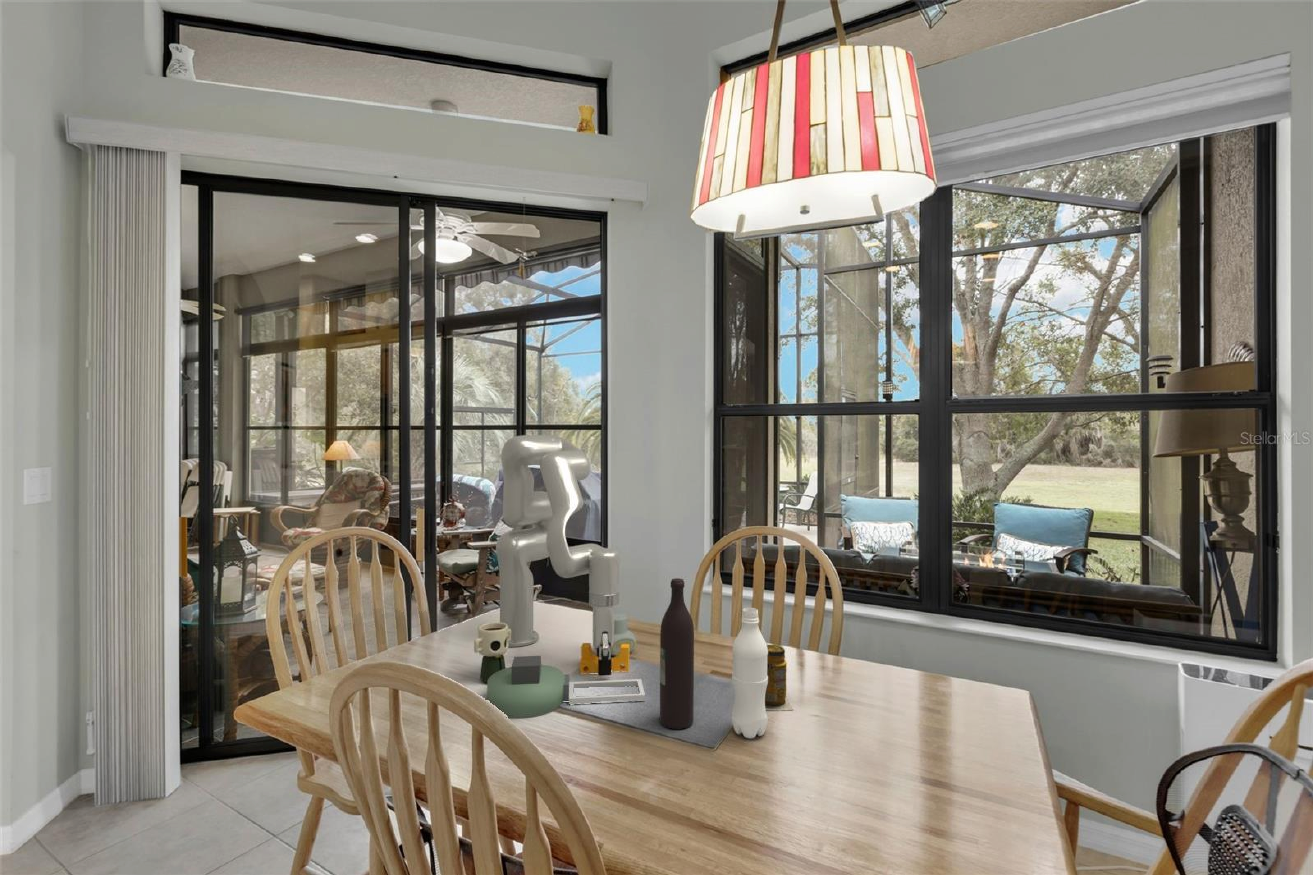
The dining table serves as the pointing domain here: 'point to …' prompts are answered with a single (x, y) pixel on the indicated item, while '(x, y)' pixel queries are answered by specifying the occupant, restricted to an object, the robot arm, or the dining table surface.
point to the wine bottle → (677, 662)
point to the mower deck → (544, 689)
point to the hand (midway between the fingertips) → (604, 667)
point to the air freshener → (621, 634)
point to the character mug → (492, 647)
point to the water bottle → (749, 677)
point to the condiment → (776, 680)
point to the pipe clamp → (591, 660)
